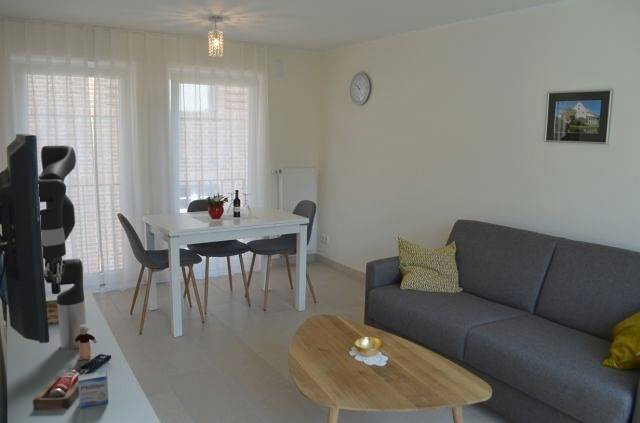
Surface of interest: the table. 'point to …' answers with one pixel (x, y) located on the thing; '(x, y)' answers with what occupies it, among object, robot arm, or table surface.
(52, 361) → the table surface
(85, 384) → the medicine box
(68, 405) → the u rest
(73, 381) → the soda can
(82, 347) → the grandmother figurine
